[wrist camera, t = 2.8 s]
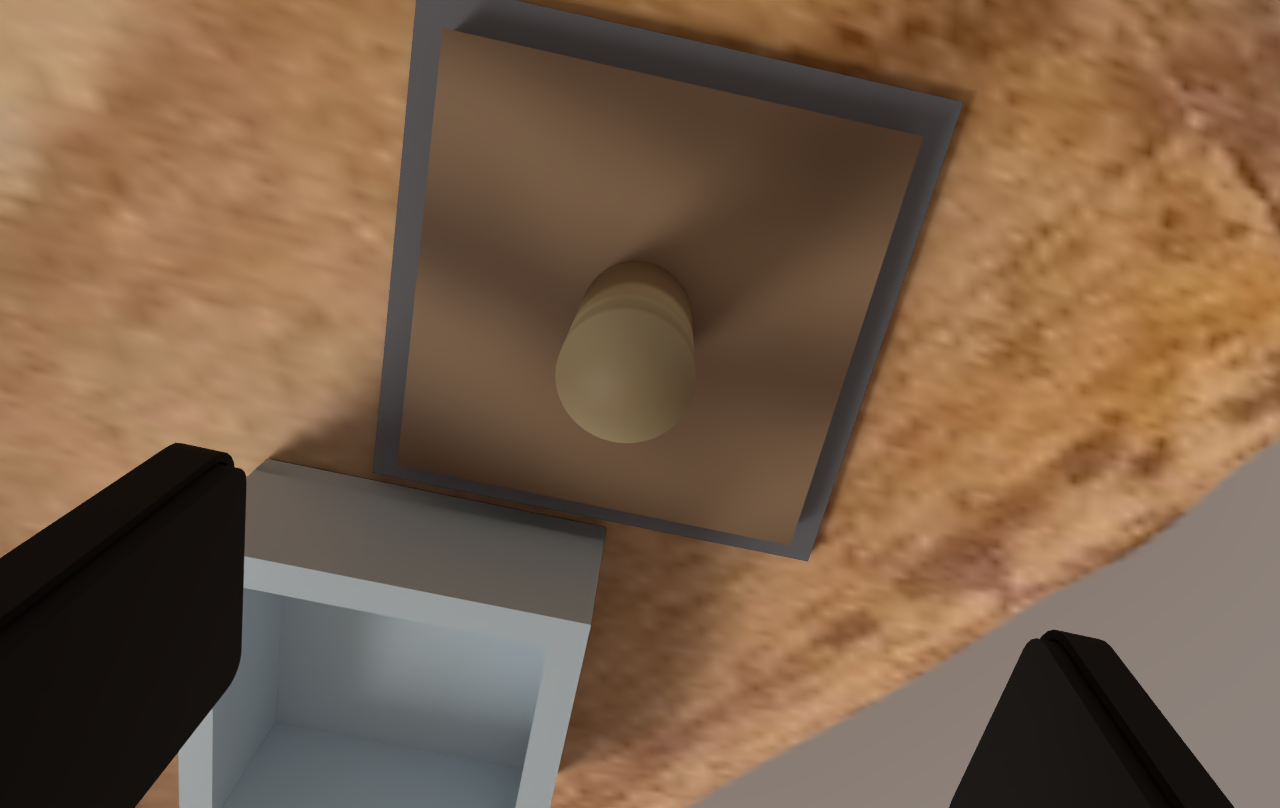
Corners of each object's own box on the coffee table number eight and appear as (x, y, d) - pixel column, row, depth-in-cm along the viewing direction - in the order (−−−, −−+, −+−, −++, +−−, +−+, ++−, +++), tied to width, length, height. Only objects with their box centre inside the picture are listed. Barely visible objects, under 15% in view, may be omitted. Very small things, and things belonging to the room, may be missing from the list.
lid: (453, 30, 20) (368, 9, 15) (912, 134, 21) (1000, 152, 15) (407, 451, 25) (329, 558, 19) (785, 528, 25) (817, 655, 19)
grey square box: (266, 458, 25) (175, 542, 21) (606, 527, 26) (591, 624, 21) (257, 721, 29) (179, 840, 25) (550, 776, 30) (527, 904, 25)
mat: (423, -20, 20) (418, -23, 20) (958, 101, 21) (963, 102, 20) (377, 467, 25) (372, 472, 25) (805, 554, 26) (807, 561, 25)
